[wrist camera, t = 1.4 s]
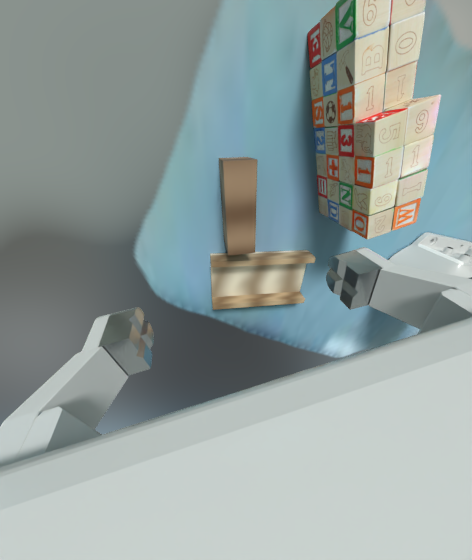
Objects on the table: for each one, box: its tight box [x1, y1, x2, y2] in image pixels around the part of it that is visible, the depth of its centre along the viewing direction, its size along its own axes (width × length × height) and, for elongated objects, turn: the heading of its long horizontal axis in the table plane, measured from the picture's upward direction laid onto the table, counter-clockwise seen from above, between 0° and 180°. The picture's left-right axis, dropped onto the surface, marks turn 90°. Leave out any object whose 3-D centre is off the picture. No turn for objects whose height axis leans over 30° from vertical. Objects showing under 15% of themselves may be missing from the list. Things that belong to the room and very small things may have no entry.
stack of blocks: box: [308, 0, 441, 239], centre depth 24 cm, size 21×6×12 cm, turn 18°
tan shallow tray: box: [210, 250, 315, 310], centre depth 39 cm, size 18×10×3 cm, turn 88°
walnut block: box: [219, 157, 257, 255], centre depth 30 cm, size 12×4×6 cm, turn 2°
